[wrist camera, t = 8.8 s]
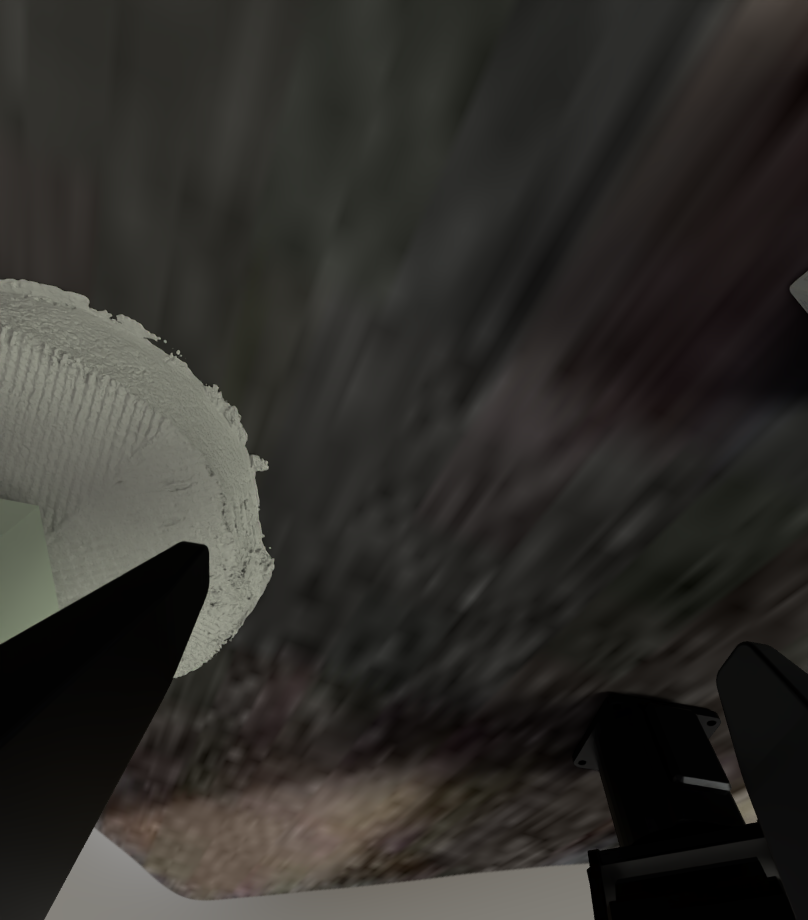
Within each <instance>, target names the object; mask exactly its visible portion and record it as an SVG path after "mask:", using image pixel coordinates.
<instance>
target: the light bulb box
mask: <svg viewBox="0 0 808 920" xmlns="http://www.w3.org/2000/svg"><path fill="white" fill-rule="evenodd" d="M790 292H791V294H792V295H793V296H794V297H795V299H796V300H797V301H798V302H799V303H800V305H801V306H802V307H803V308H804V310H805V311H806V312H807V313H808V271H807V272H806V273H805V274H803V275H802V276H801V277H800V278H799V279H797V280H796V281H795V282H794V283H793V284H792V285H791V286H790Z"/></svg>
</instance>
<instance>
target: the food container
mask: <svg viewBox="0 0 808 920" xmlns="http://www.w3.org/2000/svg"><path fill="white" fill-rule="evenodd" d="M16 286H17V287H16ZM88 305H89V299H88V298H86V297H85V296H84V295H80V294H77V293H74V292H67V291H66V292H64V291H62V290H61V289H60V288H58V287H55V286H49V285H45V284H38V283H37V282H33V281H26V280H24V279H21V280H19V281H17V280H15V279H5V280H0V499H6V500H11V501H16V502H21V503H27V504H32V505H37V506H39V510H40V515H41V520H42V525H43V530H44V535H45V540H46V545H47V550H48V555H49V560H50V565H51V570H52V575H53V580H54V585H55V590H56V595H57V600H58V605H59V610H61V609H63V608H65V607H66V606H68V605H70V604H72V603H73V602H75V601H77V600H79V599H80V598H82V597H84V596H86V595H87V594H89V593H91V592H93V591H94V590H96V589H98V588H100V587H101V586H103V585H105V584H107V583H108V582H110V581H112V580H114V579H115V578H117V577H119V576H121V575H122V574H124V573H126V572H128V571H129V570H131V569H133V568H135V567H136V566H138V565H140V564H142V563H143V562H145V561H147V560H149V559H150V558H152V557H154V556H156V555H157V554H159V553H161V552H163V551H164V550H166V549H168V548H170V547H171V546H173V545H175V544H177V543H179V542H182V541H189V542H194V543H200V544H204V545H206V546H207V547H208V549H209V572H210V584H209V590H208V593H207V597H206V599H205V602H204V604H203V607H202V609H201V611H200V614H199V616H198V619H197V621H196V624H195V626H194V629H193V631H192V634H191V636H190V639H189V641H188V644H187V646H186V648H185V651H184V653H183V656H182V658H181V661H180V663H179V666H178V668H177V671H176V673H175V675H174V678H177V677H178V676H179V677H181V676H182V675H186V674H187V673H188V672H190V671H195V670H196V669H197V668H198V667H200V666H201V665H202V664H203V663H204V662H207V660H210V657H213V655H214V654H215V653H218V652H215V650H217V651H220V649H219V647H220V648H222V647H221V644H226V643H227V640H226V641H223V640H225V639H227V638H229V637H230V636H231V635H232V638H233V636H234V634H237V632H238V628H240V627H241V626H242V625H243V623H244V620H245V619H246V617H247V616H248V615H249V614H250V613H251V612H252V610H253V609H254V607H255V606H256V603H257V601H258V600H259V598H260V596H262V594H263V592H264V590H265V588H266V585H267V583H268V582H269V581H270V578H271V576H272V570H274V559H270V558H271V556H270V555H269V554H268V553H267V551H265V546H264V545H263V543H262V537H265V536H264V535H263V534H262V531H261V530H262V529H261V523H260V521H259V515H258V511H259V510H260V509H259V508H258V506H259V502H260V501H259V497H258V490H257V486H256V481H255V474H256V473H255V472H256V471H263V470H268V468H269V466H267V464H268V462H267V461H264V460H263V458H262V459H261V460H260V458H259V456H257V455H253V454H252V455H250V456H249V454H248V452H247V449H246V447H245V444H246V441H247V436H248V435H247V433H246V432H245V430H244V428H242V424H241V423H240V419H241V418H240V417H241V415H239V414H238V410H237V408H236V407H235V406H230V404H229V403H226V402H225V401H224V399H222V393H221V391H220V392H218V389H219V387H218V386H217V385H215V384H213V388H212V387H210V386H208V387H207V386H204V385H203V383H202V382H201V381H199V380H198V379H197V378H196V377H195V376H194V375H193V373H192V372H191V370H190V369H189V368H188V367H187V364H186V363H185V362H182V361H181V360H179V359H178V358H177V356H173V355H172V353H171V354H170V355H168V354H166V353H165V352H164V351H162V350H161V349H159V348H157V347H156V346H155V345H152V343H151V342H149V341H148V339H146V337H147V338H151V339H154V340H156V341H157V340H158V339H159V340H161V339H160V337H156V335H155V334H150V332H149V331H147V330H145V329H144V328H143V326H142V325H141V324H140V323H138V322H136V321H135V320H132V319H130V318H129V317H125V316H124V315H123V314H120V315H117V316H116V317H117V320H115V319H111V320H110V319H109V317H111V316H112V314H110V313H109V314H108V313H107V311H106V310H104V311H97V310H95V309H93V308H90V309H89V306H88ZM112 320H113V321H112ZM116 321H118V322H121V323H122V324H121V323H118V322H116ZM144 337H145V339H144ZM164 342H165V343H167V342H166V340H164ZM176 353H177V354H178V355H179V353H180V351H179V350H178V351H177V352H176ZM180 356H182V355H180ZM206 385H207V384H206ZM238 415H239V417H238ZM269 549H271V547H269ZM266 554H267V555H266ZM269 556H270V558H269ZM229 641H232V640H229ZM201 667H202V666H201Z"/></svg>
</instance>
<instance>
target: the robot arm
mask: <svg viewBox="0 0 808 920" xmlns="http://www.w3.org/2000/svg"><path fill="white" fill-rule="evenodd" d="M209 584H210V572H209V549H208V547H207V546H206V545H204V544H200V543H194V542H189V541H182V542H179V543H177V544H175V545H173V546H171V547H170V548H168V549H166V550H164V551H163V552H161V553H159V554H157V555H156V556H154V557H152V558H150V559H149V560H147V561H145V562H143V563H142V564H140V565H138V566H136V567H135V568H133V569H131V570H129V571H128V572H126V573H124V574H122V575H121V576H119V577H117V578H115V579H114V580H112V581H110V582H108V583H107V584H105V585H103V586H101V587H100V588H98V589H96V590H94V591H93V592H91V593H89V594H87V595H86V596H84V597H82V598H80V599H79V600H77V601H75V602H73V603H72V604H70V605H68V606H66V607H65V608H63V609H61V610H59V611H57V612H56V613H54V614H52V615H50V616H49V617H47V618H45V619H43V620H42V621H40V622H38V623H36V624H35V625H33V626H31V627H29V628H28V629H26V630H24V631H22V632H21V633H19V634H17V635H15V636H14V637H12V638H10V639H8V640H7V641H5V642H3V643H1V644H0V920H44V919H45V917H46V915H47V913H48V912H49V910H50V908H51V906H52V904H53V902H54V901H55V899H56V897H57V895H58V893H59V891H60V889H61V888H62V886H63V884H64V882H65V880H66V878H67V876H68V875H69V873H70V871H71V869H72V867H73V865H74V863H75V862H76V860H77V858H78V856H79V854H80V852H81V850H82V848H83V847H84V845H85V843H86V841H87V839H88V837H89V836H90V834H91V832H92V830H93V828H94V826H95V824H96V823H97V821H98V819H99V817H100V815H101V813H102V811H103V810H104V808H105V806H106V804H107V802H108V800H109V798H110V797H111V795H112V793H113V791H114V789H115V787H116V786H117V784H118V782H119V780H120V778H121V776H122V774H123V773H124V771H125V769H126V767H127V765H128V763H129V761H130V760H131V758H132V756H133V754H134V752H135V750H136V748H137V747H138V745H139V743H140V741H141V739H142V737H143V735H144V734H145V732H146V730H147V728H148V726H149V724H150V722H151V721H152V719H153V717H154V715H155V713H156V711H157V709H158V708H159V706H160V704H161V702H162V700H163V698H164V696H165V694H166V692H167V690H168V688H169V686H170V684H171V682H172V680H173V678H174V675H175V673H176V671H177V668H178V666H179V663H180V661H181V658H182V656H183V653H184V651H185V648H186V646H187V644H188V641H189V639H190V636H191V634H192V631H193V629H194V626H195V624H196V621H197V619H198V616H199V614H200V611H201V609H202V607H203V604H204V602H205V599H206V597H207V593H208V590H209ZM716 683H717V689H718V693H719V696H720V700H721V703H722V707H723V710H724V714H725V717H726V721H727V725H728V728H729V732H730V735H731V739H732V742H733V746H734V750H735V753H736V757H737V760H738V764H739V767H740V770H741V774H742V777H743V780H744V783H745V786H746V789H747V792H748V794H749V797H750V800H751V802H752V805H753V808H754V810H755V813H756V816H757V818H758V820H757V822H756V823H750V824H746V823H745V821H744V819H743V817H742V815H741V813H740V811H739V809H738V807H737V805H736V803H735V801H734V798H733V796H732V794H731V792H730V790H731V784H730V782H729V780H728V778H727V776H726V774H725V772H724V770H723V768H722V766H721V764H720V762H719V760H718V758H717V756H716V753H715V751H714V749H713V747H712V745H711V743H710V741H709V738H710V737H711V735H712V734H713V733H714V732H715V730H716V729H717V728H718V727H719V725H720V724H721V720H720V718H719V716H718V714H717V713H716V712H713V711H708V710H703V709H697V708H691V707H685V706H679V705H674V704H668V703H662V702H656V701H651V700H645V699H639V698H633V697H627V696H622V695H611V696H609V697H607V698H606V700H605V702H604V703H603V705H602V707H601V708H600V710H599V712H598V713H597V715H596V717H595V718H594V720H593V722H592V723H591V725H590V727H589V728H588V730H587V732H586V733H585V735H584V737H583V738H582V740H581V742H580V743H579V745H578V747H577V749H576V750H575V752H574V754H573V756H572V758H573V762H574V765H575V766H577V767H581V768H587V769H593V770H599V772H600V776H601V780H602V783H603V787H604V791H605V794H606V798H607V802H608V805H609V809H610V813H611V816H612V820H613V823H614V827H615V831H616V834H617V838H618V842H619V845H620V847H618V848H613V849H607V850H602V851H599V849H595V850H589V851H588V857H589V865H590V867H589V868H588V869H587V874H588V878H589V883H590V889H591V897H592V904H593V911H594V919H595V920H808V674H807V673H806V672H804V671H803V670H802V669H800V668H799V667H798V666H796V665H795V664H794V663H792V662H791V661H790V660H788V659H787V658H786V657H785V656H783V655H782V654H781V653H779V652H778V651H777V650H775V649H774V648H772V647H771V646H768V645H765V644H760V643H754V642H748V641H746V642H742V643H740V644H738V645H737V646H736V648H735V649H734V651H733V652H732V653H731V655H730V656H729V657H728V659H727V660H726V661H725V663H724V664H723V665H722V667H721V668H720V670H719V671H718V674H717V679H716Z"/></svg>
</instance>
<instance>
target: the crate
mask: <svg viewBox="0 0 808 920" xmlns="http://www.w3.org/2000/svg"><path fill="white" fill-rule="evenodd" d="M57 611H59V605H58V600H57V595H56V590H55V585H54V580H53V575H52V570H51V565H50V560H49V555H48V550H47V545H46V540H45V535H44V530H43V525H42V520H41V515H40V510H39V506H37V505H32V504H27V503H21V502H16V501H11V500H6V499H0V644H1V643H3V642H5V641H7V640H8V639H10V638H12V637H14V636H15V635H17V634H19V633H21V632H22V631H24V630H26V629H28V628H29V627H31V626H33V625H35V624H36V623H38V622H40V621H42V620H43V619H45V618H47V617H49V616H50V615H52V614H54V613H56V612H57Z"/></svg>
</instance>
